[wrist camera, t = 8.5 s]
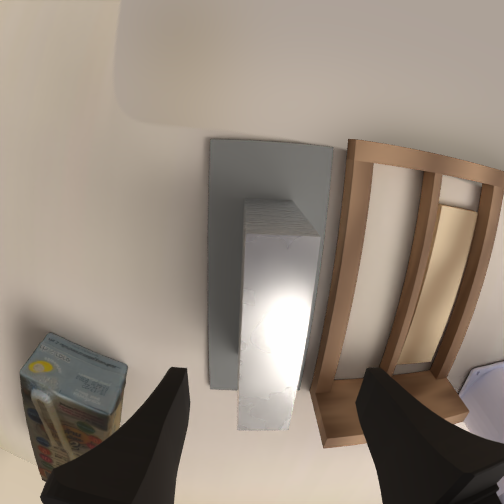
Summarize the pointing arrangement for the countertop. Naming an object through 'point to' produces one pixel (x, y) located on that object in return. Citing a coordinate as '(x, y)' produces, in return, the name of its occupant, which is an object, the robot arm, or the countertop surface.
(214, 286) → the mat
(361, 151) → the rack
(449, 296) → the offcut top
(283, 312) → the shiny grey metal block
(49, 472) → the beverage carton
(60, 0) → the countertop surface
